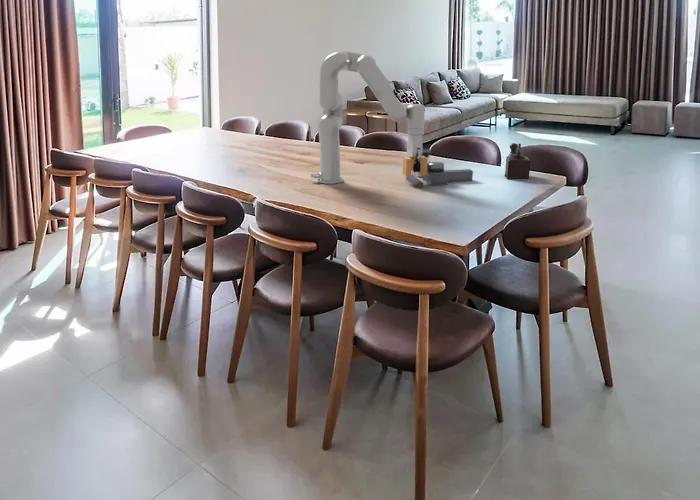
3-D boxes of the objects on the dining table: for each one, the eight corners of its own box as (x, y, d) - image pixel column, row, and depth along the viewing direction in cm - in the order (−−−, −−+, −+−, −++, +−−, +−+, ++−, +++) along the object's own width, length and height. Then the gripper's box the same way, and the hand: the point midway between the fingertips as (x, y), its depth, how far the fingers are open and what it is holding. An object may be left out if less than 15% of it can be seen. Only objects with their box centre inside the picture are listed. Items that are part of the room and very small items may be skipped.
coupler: (417, 187, 289) (417, 168, 286) (406, 179, 305) (406, 160, 302) (477, 184, 294) (478, 165, 291) (463, 176, 311) (464, 158, 308)
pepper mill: (503, 174, 313) (505, 138, 307) (525, 175, 312) (528, 138, 306) (507, 182, 298) (510, 144, 292) (531, 182, 297) (534, 144, 291)
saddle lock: (406, 176, 292) (406, 159, 290) (402, 173, 298) (403, 156, 295) (426, 175, 294) (427, 158, 291) (422, 172, 300) (423, 155, 297)
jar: (427, 173, 318) (428, 149, 314) (431, 176, 311) (431, 152, 307) (410, 173, 317) (410, 149, 313) (413, 177, 310) (413, 152, 306)
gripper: (402, 129, 297) (402, 167, 303) (413, 134, 281) (412, 174, 287) (418, 128, 298) (417, 166, 304) (429, 134, 282) (428, 173, 288)
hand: (414, 170), depth 295 cm, fingers closed on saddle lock, 6 cm apart
